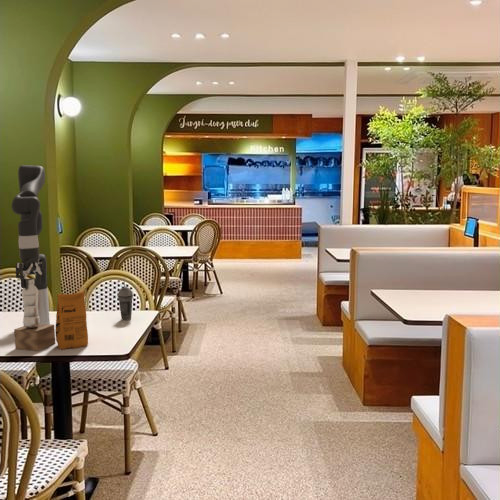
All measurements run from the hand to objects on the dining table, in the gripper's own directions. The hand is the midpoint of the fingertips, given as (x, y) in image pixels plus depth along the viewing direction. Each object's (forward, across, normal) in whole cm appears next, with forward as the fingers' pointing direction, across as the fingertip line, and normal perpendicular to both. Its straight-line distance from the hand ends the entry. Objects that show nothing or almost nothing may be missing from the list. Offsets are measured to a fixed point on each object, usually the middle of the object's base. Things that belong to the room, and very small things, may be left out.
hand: (31, 286), depth 243 cm
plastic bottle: (+17, +2, 0) cm, 17 cm away
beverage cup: (+25, -51, +12) cm, 58 cm away
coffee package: (+25, -5, +14) cm, 30 cm away
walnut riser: (+25, 0, 0) cm, 25 cm away
